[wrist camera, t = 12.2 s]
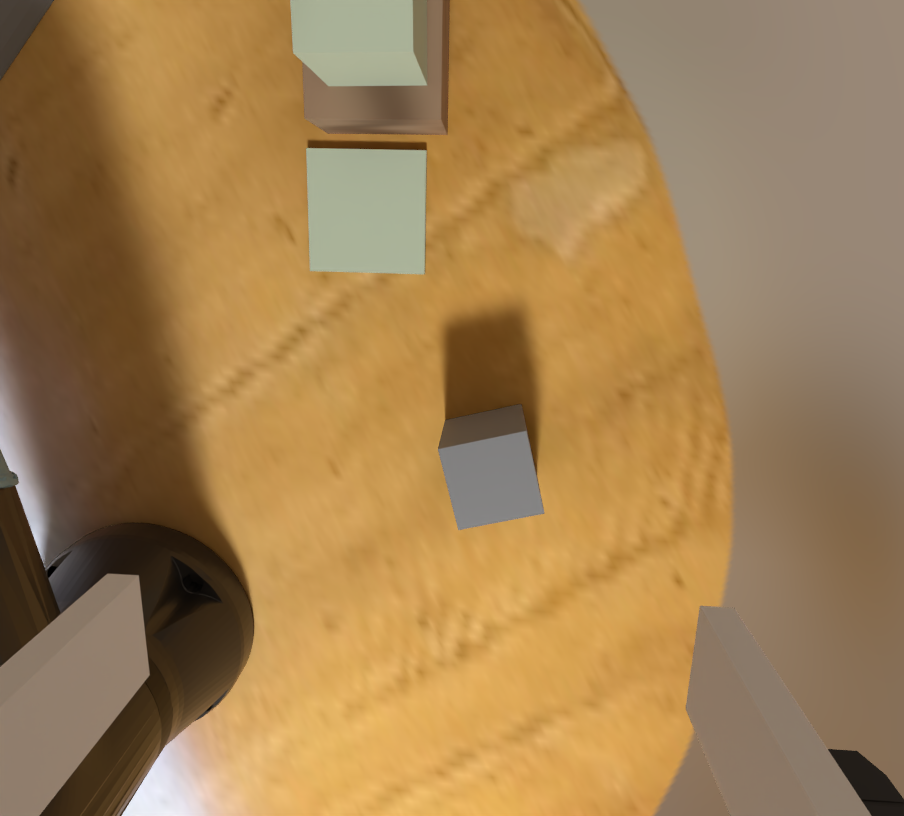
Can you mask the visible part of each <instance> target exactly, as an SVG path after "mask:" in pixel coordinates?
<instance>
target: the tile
mask: <svg viewBox="0 0 904 816" xmlns="http://www.w3.org/2000/svg"><path fill="white" fill-rule="evenodd" d="M306 155H307V188H308V221H309V254H310V271H331V272H365V273H400V274H425V241H426V171H427V151H426V150H383V149H331V148H306Z"/></svg>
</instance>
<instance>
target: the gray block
mask: <svg viewBox="0 0 904 816" xmlns="http://www.w3.org/2000/svg"><path fill="white" fill-rule="evenodd" d="M438 451H439V455H440V459H441V463H442V467H443V471H444V475H445V479H446V483H447V487H448V491H449V495H450V499H451V503H452V507H453V511H454V515H455V518H456V522H457V526H458V530H461V529H466V528H471V527H477V526H482V525H487V524H492V523H497V522H503V521H508V520H513V519H518V518H524V517H529V516H534V515H539V514H544V509H543V504H542V499H541V494H540V489H539V484H538V478H537V474H536V469H535V464H534V460H533V455H532V450H531V446H530V441H529V437H528V432H527V427H526V423H525V418H524V414H523V409H522V404H518V405H514V406H509V407H504V408H499V409H495V410H490V411H485V412H481V413H476V414H471V415H466V416H462V417H457V418H452V419H448V420H445V423H444V427H443V431H442V435H441V439H440V443H439V447H438Z"/></svg>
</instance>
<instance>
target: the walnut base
mask: <svg viewBox="0 0 904 816" xmlns="http://www.w3.org/2000/svg"><path fill="white" fill-rule="evenodd" d="M449 2H450V0H427V85H420V86H328V85H327V84H326V83H325V82H323V81H322V80H321V79H320V78H319V77H318V76H317V75H316V74H315V73H314V72H313V71H312V70H311V69H310V68H309V67H308V66H307V65H305V64H304V63H303V88H304V116H305V119H306V120H308V121H309V122H311V123H312V124H314V125H316V126H317V127H319V128H320V129H322V130H323V131H325V132H326V133H328V134H421V135H447V129H448V66H449Z"/></svg>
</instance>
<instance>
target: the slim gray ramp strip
mask: <svg viewBox="0 0 904 816" xmlns="http://www.w3.org/2000/svg"><path fill="white" fill-rule="evenodd" d="M53 1H54V0H0V80H1V79H2V77H3V76H4V74H5V73H6V71H7V70H8V68H9V67H10V65H11V64H12V62H13V61H14V59H15V58H16V56H17V55H18V53H19V52H20V50H21V49H22V47H23V46H24V44H25V43H26V41H27V40H28V38H29V37H30V35H31V34H32V32H33V31H34V29H35V28H36V26H37V25H38V23H39V22H40V20H41V19H42V17H43V16H44V14H45V13H46V11H47V10H48V8H49V7H50V5H51V4H52V2H53Z"/></svg>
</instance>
